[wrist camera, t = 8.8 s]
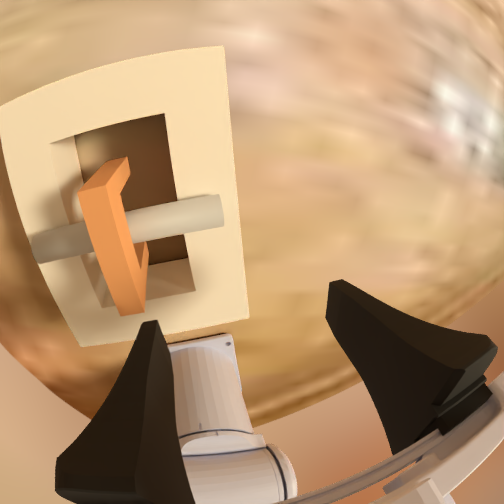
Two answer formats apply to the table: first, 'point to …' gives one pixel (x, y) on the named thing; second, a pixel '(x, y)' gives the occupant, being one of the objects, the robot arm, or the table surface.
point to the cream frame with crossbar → (139, 220)
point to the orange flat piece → (115, 237)
